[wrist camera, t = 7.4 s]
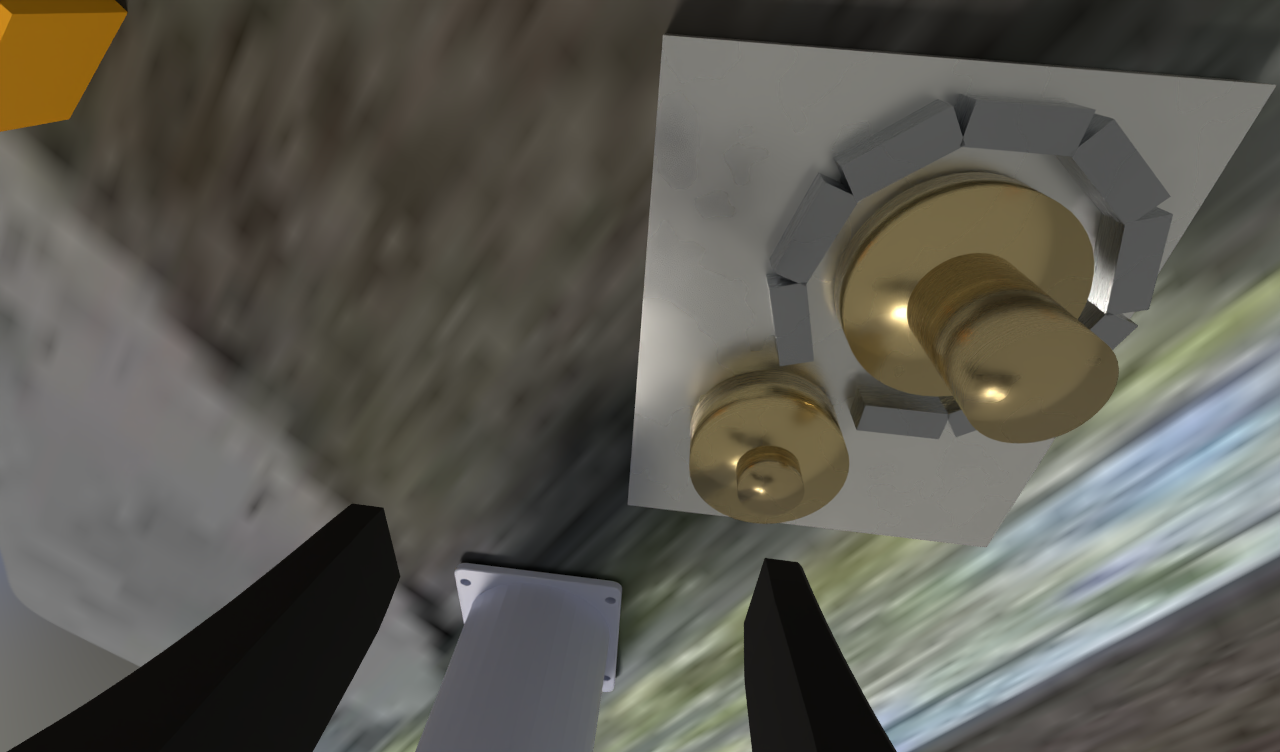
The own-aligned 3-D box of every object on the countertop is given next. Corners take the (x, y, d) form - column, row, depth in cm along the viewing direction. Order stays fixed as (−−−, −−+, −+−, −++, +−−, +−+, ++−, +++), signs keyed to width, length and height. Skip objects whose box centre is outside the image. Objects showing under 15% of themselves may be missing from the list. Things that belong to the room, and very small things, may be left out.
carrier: (976, 527, 22) (1023, 618, 19) (630, 487, 23) (617, 568, 20) (1241, 79, 14) (1416, 104, 10) (665, 32, 14) (653, 42, 11)
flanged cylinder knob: (967, 393, 18) (1056, 525, 13) (796, 331, 17) (830, 447, 13) (1115, 221, 15) (1302, 318, 10) (912, 136, 14) (1012, 199, 9)
